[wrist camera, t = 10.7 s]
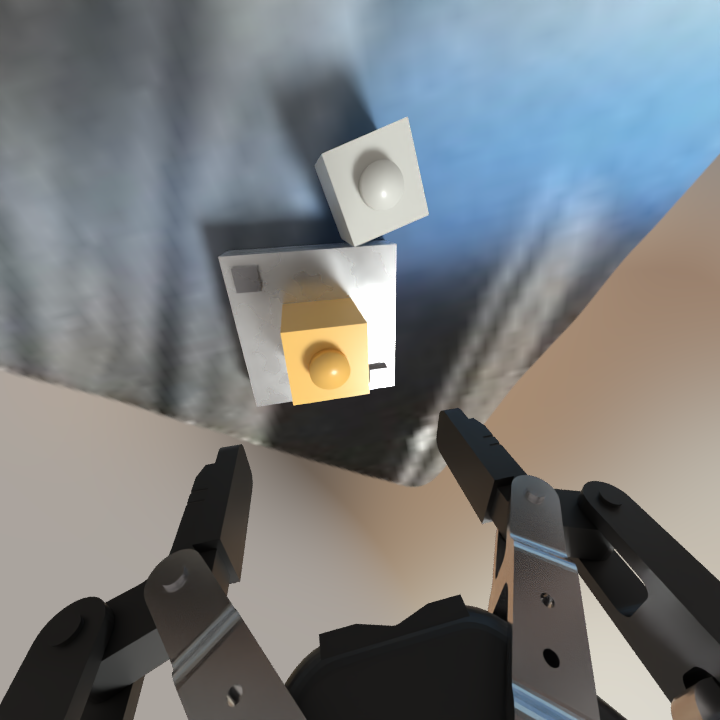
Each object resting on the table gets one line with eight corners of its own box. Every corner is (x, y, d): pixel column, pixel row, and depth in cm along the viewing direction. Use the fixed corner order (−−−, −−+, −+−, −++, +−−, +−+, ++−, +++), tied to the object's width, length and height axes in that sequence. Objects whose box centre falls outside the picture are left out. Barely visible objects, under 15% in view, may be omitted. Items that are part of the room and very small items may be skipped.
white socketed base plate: (226, 250, 21) (201, 268, 15) (384, 239, 23) (417, 251, 17) (260, 387, 27) (251, 439, 21) (384, 369, 29) (409, 412, 23)
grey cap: (314, 166, 20) (322, 151, 15) (380, 137, 20) (413, 112, 15) (341, 238, 23) (357, 248, 17) (399, 213, 23) (434, 215, 17)
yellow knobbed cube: (282, 304, 21) (279, 338, 16) (350, 297, 22) (370, 327, 16) (292, 364, 23) (293, 413, 18) (353, 356, 24) (372, 400, 19)
